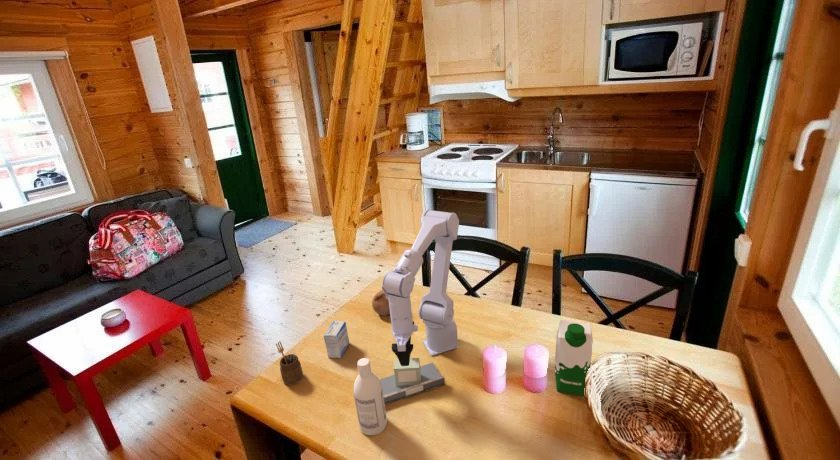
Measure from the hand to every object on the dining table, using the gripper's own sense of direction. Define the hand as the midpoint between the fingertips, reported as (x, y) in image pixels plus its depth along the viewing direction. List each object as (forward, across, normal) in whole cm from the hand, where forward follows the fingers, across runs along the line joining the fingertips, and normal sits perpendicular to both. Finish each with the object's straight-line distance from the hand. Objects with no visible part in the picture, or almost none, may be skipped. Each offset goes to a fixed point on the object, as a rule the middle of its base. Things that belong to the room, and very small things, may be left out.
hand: (405, 355), depth 112 cm
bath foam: (+10, -14, +8) cm, 19 cm away
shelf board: (+9, -1, +1) cm, 9 cm away
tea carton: (+9, 0, 0) cm, 9 cm away
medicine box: (+10, +16, +23) cm, 30 cm away
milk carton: (+10, -4, -44) cm, 46 cm away
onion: (+10, +36, +10) cm, 39 cm away
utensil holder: (+10, +4, +35) cm, 36 cm away
